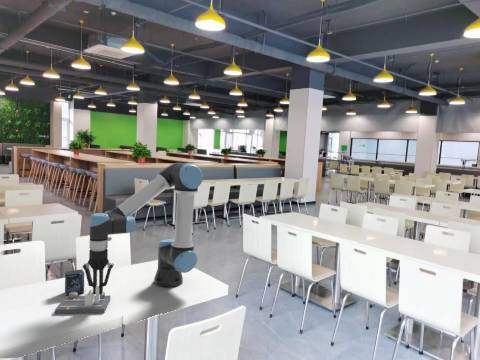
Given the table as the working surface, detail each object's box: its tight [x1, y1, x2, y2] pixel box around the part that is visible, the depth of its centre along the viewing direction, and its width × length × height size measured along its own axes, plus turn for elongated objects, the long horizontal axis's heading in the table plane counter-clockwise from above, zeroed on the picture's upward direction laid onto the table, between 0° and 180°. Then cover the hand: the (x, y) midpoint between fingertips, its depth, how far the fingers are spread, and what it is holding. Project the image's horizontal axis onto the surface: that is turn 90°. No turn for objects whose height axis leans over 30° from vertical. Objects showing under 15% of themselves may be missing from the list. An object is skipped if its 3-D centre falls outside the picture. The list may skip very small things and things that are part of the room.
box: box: [64, 269, 85, 296], centre depth 181 cm, size 8×6×11 cm
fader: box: [84, 289, 95, 306], centre depth 165 cm, size 3×5×5 cm, turn 9°
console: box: [54, 291, 112, 315], centre depth 167 cm, size 20×14×4 cm
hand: (97, 300), depth 165 cm, fingers closed
